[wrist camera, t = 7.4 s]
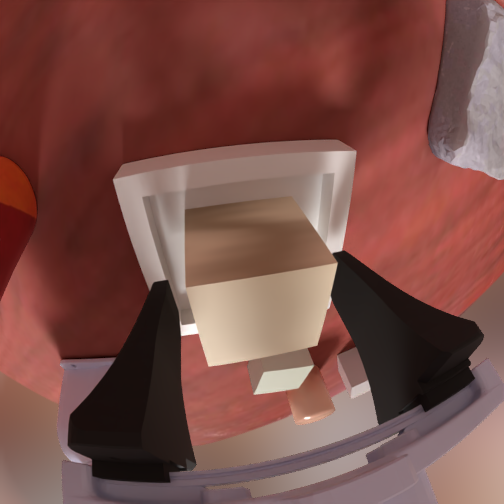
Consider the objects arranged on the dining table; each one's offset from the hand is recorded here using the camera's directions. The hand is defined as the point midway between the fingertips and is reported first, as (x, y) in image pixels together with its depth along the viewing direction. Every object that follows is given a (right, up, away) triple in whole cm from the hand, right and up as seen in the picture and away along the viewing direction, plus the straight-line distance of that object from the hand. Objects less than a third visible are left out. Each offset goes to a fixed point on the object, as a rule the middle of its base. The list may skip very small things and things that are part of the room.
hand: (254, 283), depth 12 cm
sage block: (+2, -7, +10) cm, 13 cm away
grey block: (+11, -10, +15) cm, 21 cm away
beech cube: (-1, +2, +2) cm, 3 cm away
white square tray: (-1, +2, +3) cm, 3 cm away
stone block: (+15, +13, -1) cm, 20 cm away
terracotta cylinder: (+5, -11, +14) cm, 19 cm away
